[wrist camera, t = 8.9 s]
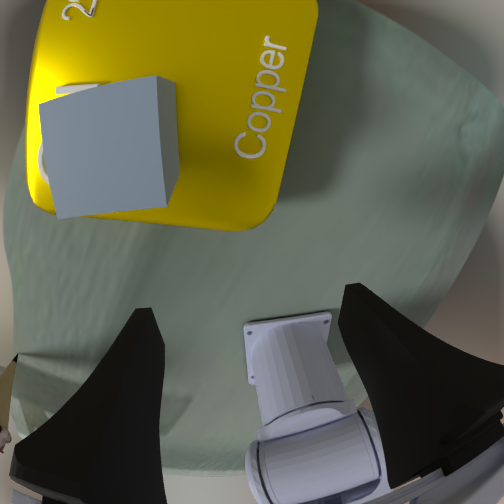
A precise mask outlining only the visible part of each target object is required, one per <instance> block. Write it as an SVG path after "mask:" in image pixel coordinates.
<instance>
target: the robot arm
mask: <svg viewBox="0 0 504 504" xmlns="http://www.w3.org/2000/svg"><path fill="white" fill-rule="evenodd" d="M331 319H332V315H331V313H330V312H321V313H315V314H308V315H302V316H295V317H288V318H281V319H274V320H266V321H258V322H250V323H246V324H245V325H244V338H245V349H246V359H247V370H248V380H249V383H250V384H256V390H257V396H258V401H259V407H260V413H261V418H262V424H263V427H261V428H258V429H257V431H258V437H259V440H255V441H253V442H252V443H251V444H250V447H249V449H248V450H247V452H246V456H245V468H246V475H247V480H248V483H249V486H250V489H251V492H252V494H253V496H254V498H255V500H256V501H257V502H258V503H259V504H404V503H406V502H408V501H410V500H411V501H410V502H409V504H497V503H498V501H499V500H500V499H501V498H502V497H503V496H504V424H502V423H501V421H500V419H502V418H503V414H502V412H501V411H500V410H501V409H502V408H503V407H504V365H500V364H496V363H493V362H489V361H486V360H484V359H481V358H478V357H476V356H473V355H470V354H468V353H466V352H464V351H462V350H459V349H457V348H455V347H453V346H451V345H449V344H447V343H445V342H444V341H442V340H440V339H438V338H437V337H435V336H433V335H432V334H430V333H428V332H426V331H425V330H424V329H422V328H421V327H419V326H418V325H416V324H415V323H413V322H412V321H410V320H409V319H408V318H406V317H405V316H403V315H402V314H401V313H399V312H398V311H397V310H395V309H394V308H393V307H391V306H390V305H389V304H387V303H386V302H385V301H384V300H382V299H381V298H380V297H378V296H377V295H376V294H374V293H373V292H372V291H371V290H369V289H368V288H367V287H365V286H364V285H362V284H361V283H354V284H348V285H345V290H344V295H343V300H342V305H341V310H340V315H339V319H338V325H339V329H340V332H341V335H342V338H343V341H344V344H345V346H346V348H347V351H348V353H349V355H350V357H351V359H352V361H353V363H354V365H355V367H356V370H357V372H358V374H359V376H360V378H361V380H362V382H363V384H364V387H365V389H366V391H367V394H368V396H369V399H370V402H371V405H372V408H373V411H372V410H370V409H367V408H366V407H361V408H359V409H356V407H355V404H354V401H353V399H350V400H349V399H348V396H347V394H346V391H345V389H344V386H343V383H342V381H341V378H340V376H339V374H338V371H337V369H336V366H335V364H334V361H333V359H332V356H331V354H330V351H329V349H328V347H327V340H328V335H329V330H330V324H331ZM325 320H326V321H325ZM249 331H251V332H249ZM164 370H165V344H164V341H163V339H162V336H161V333H160V331H159V328H158V325H157V322H156V320H155V317H154V314H153V311H152V308H138V309H135V310H134V312H133V313H132V315H131V316H130V318H129V319H128V321H127V322H126V324H125V326H124V327H123V329H122V330H121V332H120V333H119V335H118V336H117V338H116V339H115V341H114V342H113V344H112V345H111V347H110V348H109V350H108V352H107V353H106V354H105V356H104V357H103V359H102V360H101V361H100V363H99V364H98V366H97V367H96V368H95V370H94V371H93V372H92V374H91V375H90V376H89V378H88V379H87V380H86V381H85V383H84V384H83V385H82V386H81V387H80V388H79V390H78V391H77V392H76V393H75V394H74V395H73V396H72V397H71V398H70V399H69V400H68V401H67V402H66V403H65V404H64V406H63V407H62V408H61V409H60V410H59V411H58V412H57V413H55V414H54V415H53V416H52V417H51V418H50V419H49V420H48V421H46V422H45V423H44V424H43V425H42V426H41V427H39V428H38V429H37V430H36V431H34V432H33V433H31V434H30V435H29V436H27V437H26V438H24V439H23V440H22V441H20V442H19V443H17V444H16V445H15V447H14V452H13V457H12V462H11V468H10V473H9V476H10V478H11V479H12V480H14V481H15V482H17V483H19V484H21V485H23V486H24V487H26V488H28V489H30V490H32V491H34V492H36V493H39V494H41V495H43V498H42V501H40V500H38V499H36V498H33V497H31V496H28V495H26V494H23V493H21V492H19V491H17V490H15V489H13V490H12V497H11V504H167V500H166V495H165V489H164V483H163V475H162V466H161V455H160V437H159V419H160V408H161V398H162V389H163V379H164ZM418 477H421V479H419V480H417V481H415V482H412V483H411V484H408V485H406V486H404V487H402V488H400V489H398V490H394V488H396V487H398V486H401V485H403V484H405V483H407V482H409V481H411V480H413V479H415V478H418Z"/></svg>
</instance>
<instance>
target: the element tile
mask: <svg viewBox="0 0 504 504" xmlns="http://www.w3.org/2000/svg"><path fill="white" fill-rule="evenodd" d="M317 19H318V4H317V0H47V1H46V3H45V6H44V10H43V13H42V17H41V20H40V24H39V28H38V32H37V37H36V41H35V46H34V51H33V57H32V62H31V70H30V76H29V83H28V93H27V105H26V120H25V169H26V181H27V187H28V191H29V193H30V195H31V198H32V200H33V201H34V203H35V204H36V205H37V206H38V207H39V208H40V209H42V210H44V211H46V212H47V213H50V214H53V215H57V214H56V210H55V206H54V202H53V198H52V194H51V189H50V184H49V179H48V174H47V169H46V163H45V158H44V151H43V144H42V137H41V129H40V119H39V108H38V104H40V103H43V102H46V101H49V100H52V99H55V98H58V97H61V96H64V95H68V94H71V93H75V92H78V91H82V90H86V89H90V88H93V87H98V86H102V85H106V84H111V83H115V82H120V81H125V80H131V79H136V78H142V77H149V76H155V75H157V76H160V77H162V78H165V79H168V80H170V81H173V82H175V94H176V117H177V134H178V149H179V162H180V175H179V178H178V180H177V183H176V185H175V188H174V190H173V193H172V195H171V198H170V200H169V203H168V206H167V207H160V208H149V209H139V210H130V211H120V212H111V213H103V214H94V215H86V216H79V217H88V218H100V219H111V220H122V221H133V222H144V223H154V224H164V225H175V226H184V227H194V228H204V229H213V230H223V231H244V230H248V229H252V228H255V227H257V226H258V225H260V224H261V223H263V222H264V221H265V220H266V219H267V218H268V216H269V215H270V213H271V212H272V211H273V208H274V206H275V203H276V201H277V197H278V193H279V189H280V185H281V180H282V176H283V172H284V167H285V163H286V159H287V154H288V150H289V146H290V141H291V137H292V133H293V128H294V124H295V119H296V115H297V110H298V106H299V102H300V97H301V93H302V88H303V84H304V79H305V74H306V70H307V65H308V61H309V56H310V51H311V47H312V42H313V37H314V33H315V28H316V23H317Z"/></svg>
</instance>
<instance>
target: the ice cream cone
mask: <svg viewBox="0 0 504 504" xmlns="http://www.w3.org/2000/svg"><path fill="white" fill-rule="evenodd" d="M17 358H18V354H17V355H16V356H15V358H14V359H13V360H12V361H11V363H10V364H9V365H8V366H7V368H6V369H5V370H4V371H3V373H2V374H1V375H0V452H1V453H4V452H3V451H2V450H3V448H4V447H5V444H6V443H10V442H11V435H10V433H9V431H8V422H9V410H10V401H11V393H12V386H13V380H14V374H15V368H16V363H17Z"/></svg>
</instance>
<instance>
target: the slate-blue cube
mask: <svg viewBox="0 0 504 504" xmlns="http://www.w3.org/2000/svg"><path fill="white" fill-rule="evenodd" d="M38 108H39V119H40V129H41V137H42V144H43V151H44V158H45V163H46V169H47V174H48V179H49V184H50V189H51V194H52V198H53V202H54V206H55V210H56V214H57V218H58V219H64V218H71V217H79V216H86V215H94V214H103V213H111V212H120V211H130V210H139V209H149V208H160V207H167V206H168V203H169V200H170V198H171V195H172V193H173V190H174V188H175V185H176V183H177V180H178V178H179V175H180V162H179V149H178V134H177V117H176V94H175V82H173V81H170V80H168V79H165V78H162V77H160V76H157V75H155V76H149V77H142V78H136V79H131V80H125V81H120V82H115V83H111V84H106V85H102V86H98V87H93V88H90V89H86V90H82V91H78V92H75V93H71V94H68V95H64V96H61V97H58V98H55V99H52V100H49V101H46V102H43V103H40V104H38Z"/></svg>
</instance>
